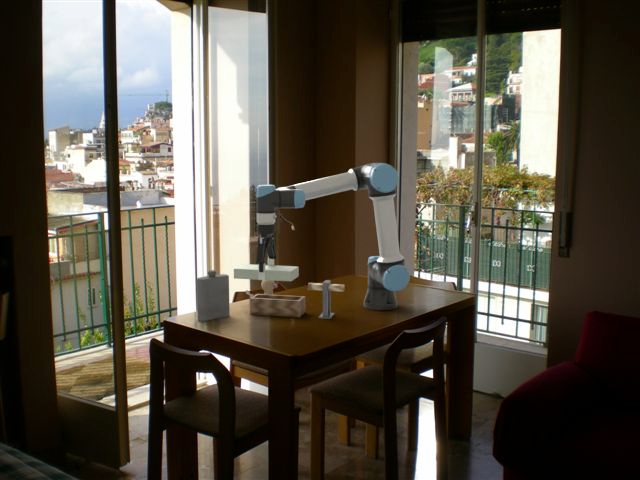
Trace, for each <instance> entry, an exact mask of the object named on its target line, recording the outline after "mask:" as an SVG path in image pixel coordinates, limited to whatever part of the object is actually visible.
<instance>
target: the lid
mask: <svg viewBox="0 0 640 480" xmlns="http://www.w3.org/2000/svg"><path fill="white" fill-rule="evenodd" d="M265 266H266V280H273V281H274V282H276V281H278V282H279V281H280V282H293V281H295V280H296V278H299V276H300V275H299V274H300V272H299V270H300V269H299V266H295V265H293V266H292V265H275V264H274V265H268V264H265ZM233 279H235V280H236V279H240V280H254V281H255V280H258V281H260V280H259V275H258V264H253V263H252V264H249V263H248V264H247V263H246V264H245V263H241V265H238V266H236V267H234V268H233Z"/></svg>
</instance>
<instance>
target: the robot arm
mask: <svg viewBox="0 0 640 480" xmlns="http://www.w3.org/2000/svg"><path fill="white" fill-rule="evenodd" d="M399 178H400V177H399V173H398V171H397V170H396V168H394V166H393V165H391V164H388V163H385V162H370V163H366V164H364V165H360V166H357V167H353V168H350V169H349V170H348V171H347V172H343V173H339V174H335V175H330V176H326V177H321V178H317V179H313V180H310V181H309V180H308V181H305V182H300V183H296V184H292V185H288V186H279V187H277V188H276V186H275V184H259V185H257V187H256V197H255V198H256V223H257V224H256V233H257V234H260V235H261V236H260V238H257V253H256V260H255V265H258V275H259V280H258V281H263V280H266V266H265V265H266V258H267V265H274V266H275V260H276V259H277V252H276V251H277V250H276V244H275V233H276V231H277V230H276V219H277V217H278V216H277V215H276V211H277V210H276V209H302V208H304V207H305V204H306V201H309V200H312V199H317V198H321V197H325V196H329V195H333V194H338V193H342V192H347V191H350V190H353V191H354V192H355V191H356V192H357V191H360V190H367V192H368V194H367V195H368V198H369V199H371V200H372V204H373V211H374V220H375V228H376V229H375V230H376V236H377V244H378V252H379V255H372V256H369V257H368V260H367V290H366V294H365V296H364V300H363V308H365V309H368V310H374V311H390V310H394V309H397V308H398V300H397V295H396V293H395V292H399V291H403V290H404V289H405V288H406V287H407V285H408V284H409V283H410V277H411V274H410V271H409V270H408V268H407V267H406V261H405V257H404V255H402V254H401V252H400V244H399V243H400V242H399V236H398V228H397V225H398V224H397V217H396V210H395V209H396V208H395V201H394V198H395V197H396V195H397V186H398V185H399Z"/></svg>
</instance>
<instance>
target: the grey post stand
mask: <svg viewBox="0 0 640 480" xmlns="http://www.w3.org/2000/svg"><path fill="white" fill-rule="evenodd" d="M322 284H323V291H322V312H321V314H320V315H319V316H318V319H329V320H331V319H332V318H333V316H335V312H331V291H328V284H332V283H331V280H330V279H326V280H324V281H323V282H322Z"/></svg>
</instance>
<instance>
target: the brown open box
mask: <svg viewBox="0 0 640 480" xmlns="http://www.w3.org/2000/svg"><path fill="white" fill-rule="evenodd" d="M253 295H254V296H253V297H251V298H250V297H249V315H257V316H271V317H272V316H274V317H288V318H289V317H290V318H301V317H302V316H303V315H304V314H305V313H306V295H305V296H303V295H301V296H300V295H285V294H284V295H281V294H273V295H269V294H264V293H255V294H253Z"/></svg>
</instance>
